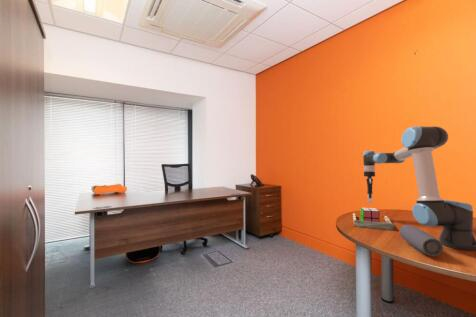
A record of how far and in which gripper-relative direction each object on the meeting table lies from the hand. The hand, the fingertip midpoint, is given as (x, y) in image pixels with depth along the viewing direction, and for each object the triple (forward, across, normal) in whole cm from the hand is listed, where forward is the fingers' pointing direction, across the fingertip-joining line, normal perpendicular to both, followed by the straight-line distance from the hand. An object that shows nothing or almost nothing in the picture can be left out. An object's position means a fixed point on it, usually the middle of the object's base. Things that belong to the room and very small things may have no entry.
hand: (370, 202), depth 177 cm
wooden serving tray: (+13, +11, 0) cm, 17 cm away
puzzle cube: (+13, +13, -2) cm, 19 cm away
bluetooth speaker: (+15, +57, +17) cm, 61 cm away
